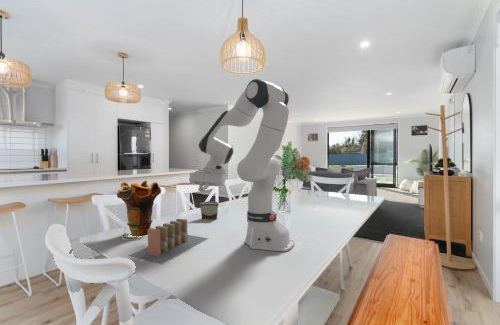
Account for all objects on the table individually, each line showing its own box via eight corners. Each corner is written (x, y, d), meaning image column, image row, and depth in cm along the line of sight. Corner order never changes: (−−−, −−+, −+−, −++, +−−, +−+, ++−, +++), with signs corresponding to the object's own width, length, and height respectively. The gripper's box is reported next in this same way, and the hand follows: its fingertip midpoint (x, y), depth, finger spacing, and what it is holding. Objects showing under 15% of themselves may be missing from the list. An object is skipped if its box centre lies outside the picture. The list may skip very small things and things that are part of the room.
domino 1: (151, 252, 98) (150, 228, 98) (160, 254, 96) (160, 229, 96) (148, 254, 97) (147, 229, 96) (157, 256, 94) (156, 231, 94)
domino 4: (172, 242, 109) (172, 220, 109) (181, 244, 107) (181, 221, 106) (170, 244, 107) (169, 221, 107) (179, 245, 105) (178, 222, 105)
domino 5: (179, 239, 112) (178, 218, 112) (187, 241, 110) (187, 219, 110) (176, 241, 111) (176, 219, 111) (185, 242, 109) (184, 220, 108)
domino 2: (159, 249, 102) (158, 225, 101) (168, 251, 100) (167, 227, 99) (156, 250, 100) (155, 226, 100) (165, 252, 98) (164, 228, 98)
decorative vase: (147, 224, 140) (147, 175, 138) (170, 234, 125) (170, 180, 123) (108, 233, 124) (107, 179, 122) (129, 246, 109) (128, 185, 107)
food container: (221, 216, 156) (221, 201, 155) (219, 219, 150) (218, 203, 149) (202, 216, 157) (202, 201, 157) (199, 219, 151) (199, 203, 150)
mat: (208, 240, 114) (208, 238, 114) (161, 266, 88) (161, 264, 88) (179, 234, 122) (179, 233, 122) (127, 257, 96) (127, 255, 96)
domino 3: (166, 245, 105) (165, 223, 105) (175, 247, 103) (174, 224, 103) (163, 247, 104) (162, 224, 103) (172, 249, 102) (171, 225, 101)
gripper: (194, 165, 134) (182, 185, 126) (225, 167, 125) (215, 188, 117) (199, 173, 138) (187, 192, 130) (230, 175, 129) (220, 196, 121)
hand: (201, 190), depth 123 cm, fingers closed
